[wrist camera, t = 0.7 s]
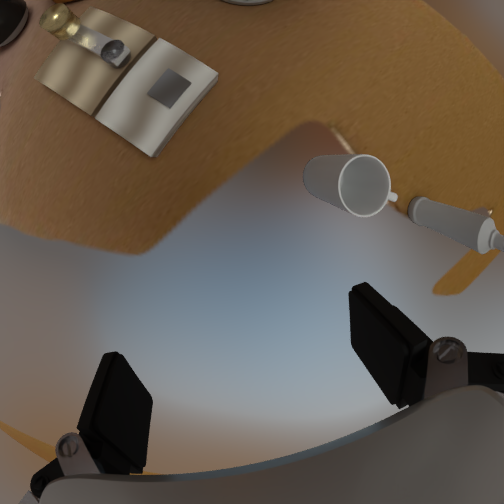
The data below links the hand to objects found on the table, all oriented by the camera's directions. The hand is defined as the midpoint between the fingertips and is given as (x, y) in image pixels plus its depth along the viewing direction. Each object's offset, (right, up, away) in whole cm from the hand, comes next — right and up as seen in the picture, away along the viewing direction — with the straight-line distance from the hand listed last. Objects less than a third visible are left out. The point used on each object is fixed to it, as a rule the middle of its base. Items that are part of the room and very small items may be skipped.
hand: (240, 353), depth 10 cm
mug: (+12, +14, +28) cm, 34 cm away
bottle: (+30, +11, +32) cm, 45 cm away
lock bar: (-20, +30, +13) cm, 38 cm away
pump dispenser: (-42, +44, +9) cm, 62 cm away
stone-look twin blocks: (-17, +28, +18) cm, 38 cm away
